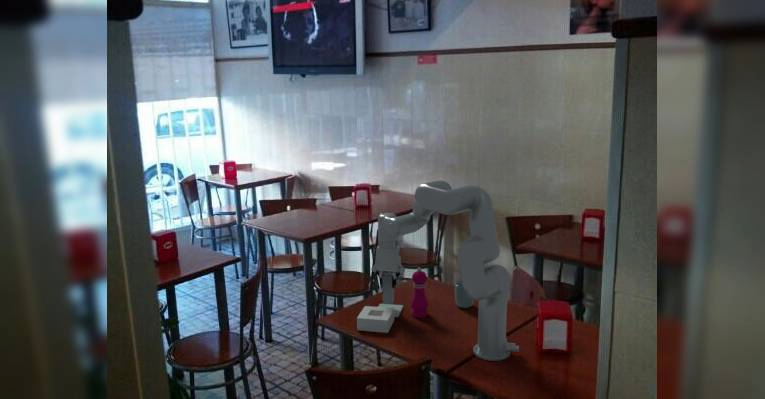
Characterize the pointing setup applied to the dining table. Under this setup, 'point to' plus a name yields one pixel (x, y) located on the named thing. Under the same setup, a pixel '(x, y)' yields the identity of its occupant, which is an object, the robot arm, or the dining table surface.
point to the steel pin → (387, 288)
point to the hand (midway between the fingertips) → (388, 286)
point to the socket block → (375, 319)
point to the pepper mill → (419, 294)
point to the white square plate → (396, 308)
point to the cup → (462, 296)
